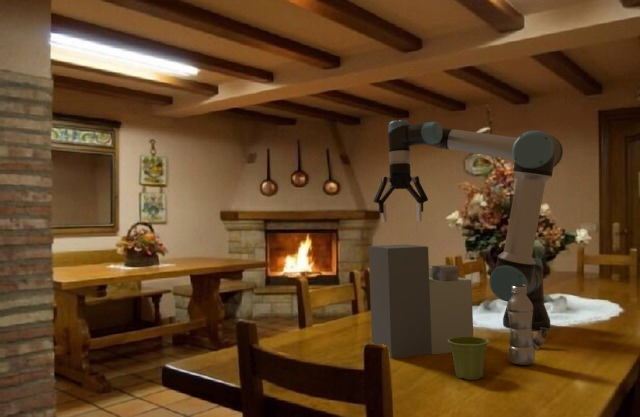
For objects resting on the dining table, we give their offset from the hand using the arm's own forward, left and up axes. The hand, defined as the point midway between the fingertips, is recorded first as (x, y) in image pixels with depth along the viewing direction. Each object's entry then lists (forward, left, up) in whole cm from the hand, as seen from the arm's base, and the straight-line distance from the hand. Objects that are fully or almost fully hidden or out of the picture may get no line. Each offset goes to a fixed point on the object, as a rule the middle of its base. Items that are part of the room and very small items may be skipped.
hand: (401, 221), depth 199 cm
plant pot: (-39, +56, -37) cm, 78 cm away
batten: (-18, +25, -17) cm, 35 cm away
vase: (-49, +20, -37) cm, 65 cm away
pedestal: (-19, +33, -37) cm, 53 cm away
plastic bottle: (-48, +40, -37) cm, 73 cm away
